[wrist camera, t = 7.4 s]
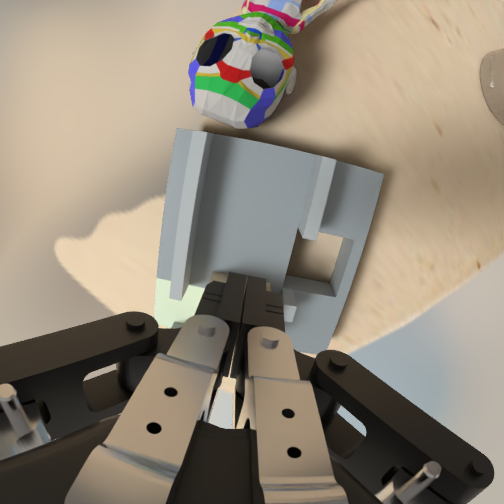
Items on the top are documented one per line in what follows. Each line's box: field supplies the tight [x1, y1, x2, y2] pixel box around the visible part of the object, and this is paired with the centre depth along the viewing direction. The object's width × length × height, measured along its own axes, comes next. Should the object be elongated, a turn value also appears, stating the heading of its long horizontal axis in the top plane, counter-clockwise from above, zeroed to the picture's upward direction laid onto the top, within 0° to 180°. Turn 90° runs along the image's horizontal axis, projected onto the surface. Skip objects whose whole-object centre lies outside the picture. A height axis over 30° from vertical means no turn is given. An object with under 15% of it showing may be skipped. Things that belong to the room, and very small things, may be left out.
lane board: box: [154, 128, 384, 354], centre depth 26 cm, size 17×18×6 cm
